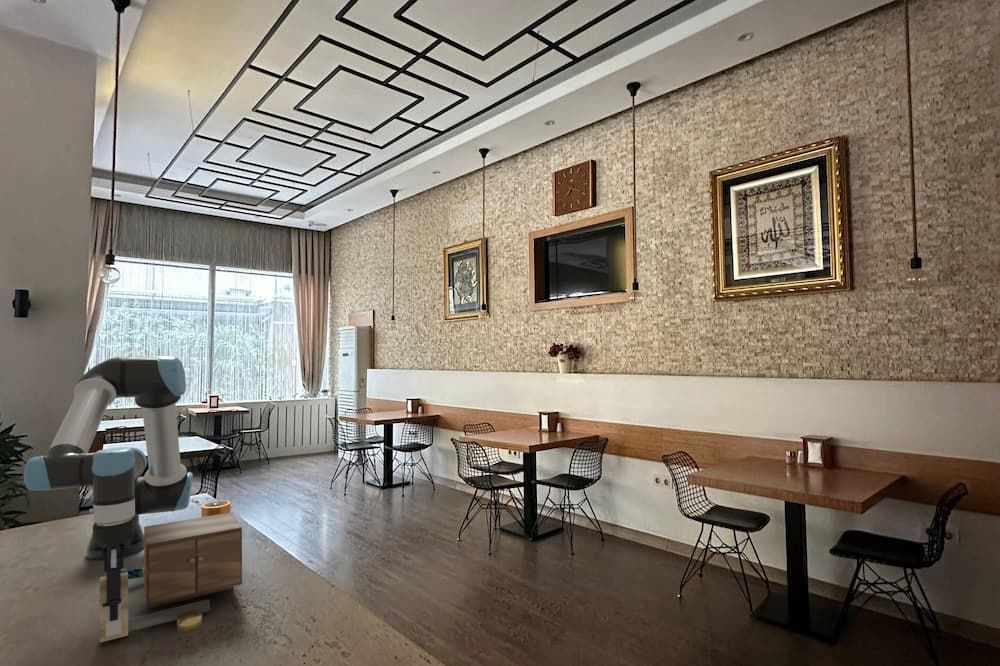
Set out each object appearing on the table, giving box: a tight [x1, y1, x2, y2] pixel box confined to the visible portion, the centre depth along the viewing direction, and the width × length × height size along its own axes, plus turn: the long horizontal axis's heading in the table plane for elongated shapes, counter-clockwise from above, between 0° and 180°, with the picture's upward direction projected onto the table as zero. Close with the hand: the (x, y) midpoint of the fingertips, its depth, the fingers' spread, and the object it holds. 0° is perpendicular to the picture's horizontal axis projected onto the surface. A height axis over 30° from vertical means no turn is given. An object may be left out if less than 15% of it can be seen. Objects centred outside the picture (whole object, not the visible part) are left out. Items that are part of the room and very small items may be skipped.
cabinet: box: [143, 511, 243, 609], centre depth 138 cm, size 16×20×18 cm
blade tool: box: [99, 572, 211, 643], centre depth 126 cm, size 5×21×12 cm, turn 125°
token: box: [176, 611, 203, 633], centre depth 126 cm, size 5×5×2 cm
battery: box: [201, 500, 231, 517], centre depth 154 cm, size 7×7×20 cm
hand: (113, 628), depth 121 cm, fingers closed on blade tool, 5 cm apart
